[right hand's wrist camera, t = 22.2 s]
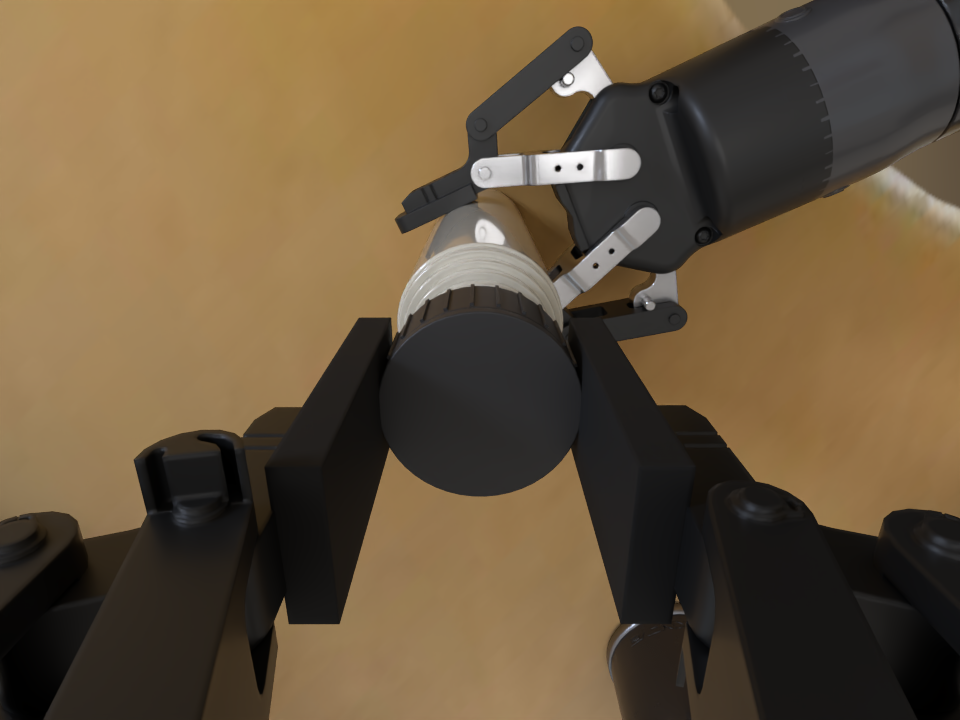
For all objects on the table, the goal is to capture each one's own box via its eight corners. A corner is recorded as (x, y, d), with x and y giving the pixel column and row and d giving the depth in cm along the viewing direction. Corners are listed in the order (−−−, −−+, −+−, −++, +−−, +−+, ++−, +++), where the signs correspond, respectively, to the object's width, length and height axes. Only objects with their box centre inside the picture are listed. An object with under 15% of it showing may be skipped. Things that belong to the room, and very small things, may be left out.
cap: (351, 377, 14) (331, 416, 12) (473, 241, 13) (472, 262, 11) (485, 481, 15) (486, 532, 13) (609, 365, 14) (630, 403, 12)
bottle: (423, 254, 33) (338, 444, 13) (456, 171, 32) (417, 247, 12) (501, 288, 34) (533, 516, 14) (538, 209, 33) (633, 340, 12)
